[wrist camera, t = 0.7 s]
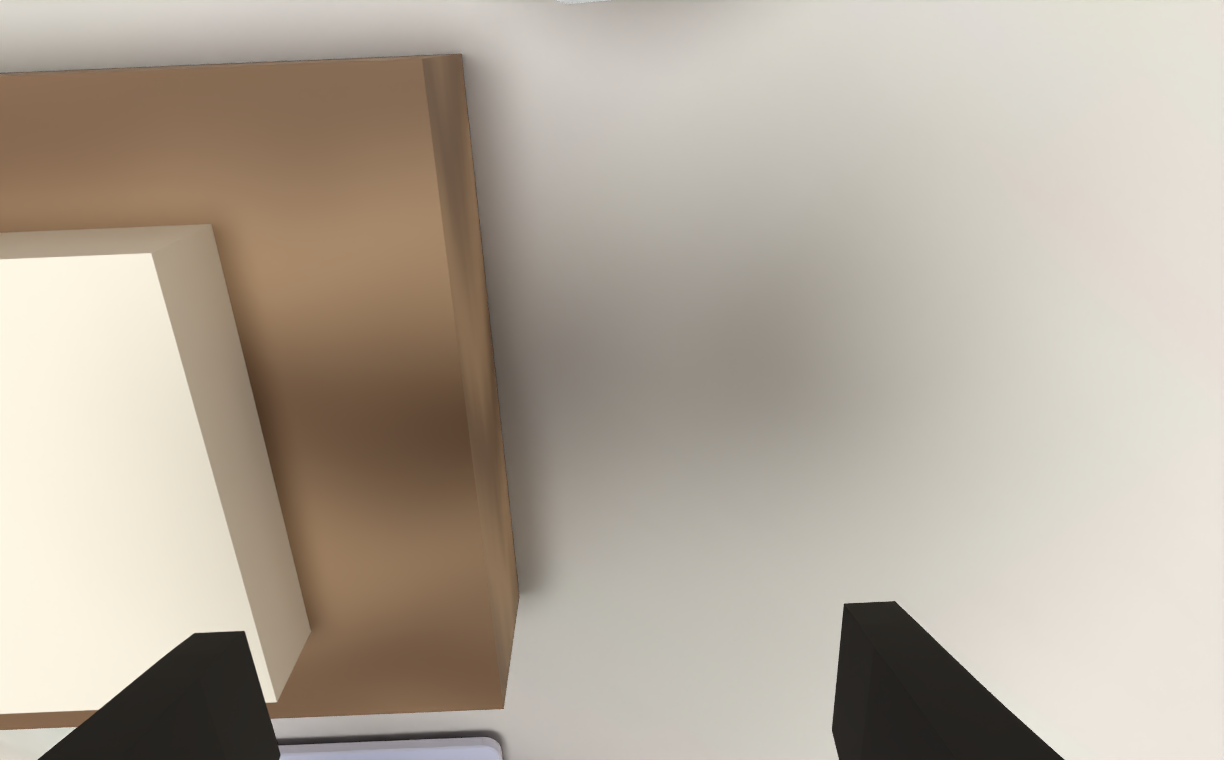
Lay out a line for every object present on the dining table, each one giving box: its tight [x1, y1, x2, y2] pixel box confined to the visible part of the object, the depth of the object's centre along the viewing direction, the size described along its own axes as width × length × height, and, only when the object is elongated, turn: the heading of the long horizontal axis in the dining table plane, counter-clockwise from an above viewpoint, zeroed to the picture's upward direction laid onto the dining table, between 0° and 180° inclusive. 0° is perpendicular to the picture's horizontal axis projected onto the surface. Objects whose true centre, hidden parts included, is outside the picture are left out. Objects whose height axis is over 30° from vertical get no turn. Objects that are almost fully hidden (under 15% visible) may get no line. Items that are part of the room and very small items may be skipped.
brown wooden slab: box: [0, 54, 519, 730], centre depth 17 cm, size 14×18×4 cm
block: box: [0, 224, 311, 714], centre depth 15 cm, size 9×6×2 cm, turn 2°
